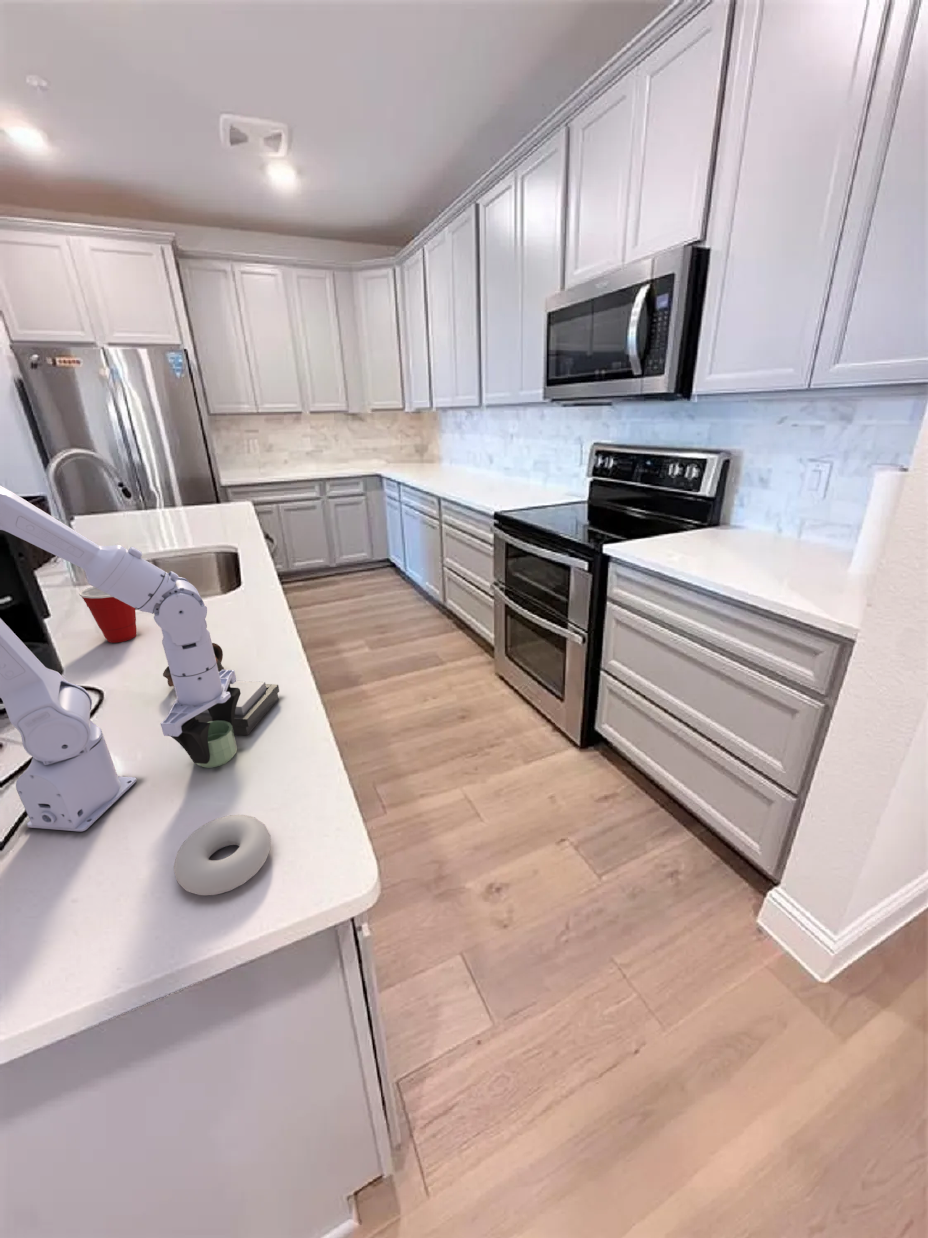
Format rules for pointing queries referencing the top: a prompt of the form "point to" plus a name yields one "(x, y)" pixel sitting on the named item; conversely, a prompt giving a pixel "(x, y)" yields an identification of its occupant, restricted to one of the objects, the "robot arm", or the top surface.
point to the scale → (250, 712)
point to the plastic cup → (111, 615)
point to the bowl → (220, 743)
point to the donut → (230, 871)
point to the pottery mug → (218, 656)
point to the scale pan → (247, 695)
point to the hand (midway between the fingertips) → (214, 748)
